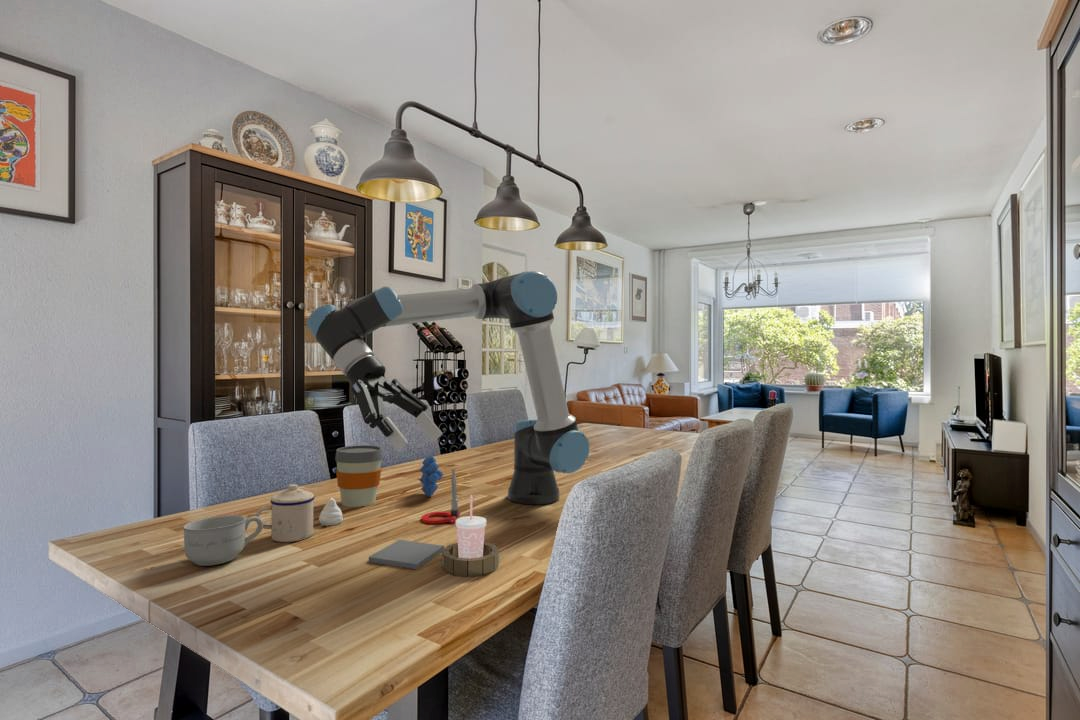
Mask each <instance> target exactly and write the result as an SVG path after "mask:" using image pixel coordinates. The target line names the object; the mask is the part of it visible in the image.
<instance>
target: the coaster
mask: <svg viewBox="0 0 1080 720" xmlns="http://www.w3.org/2000/svg"><path fill="white" fill-rule="evenodd" d="M444 548H445V545H442V544H441V545H440V544H433V543H425V542H418V541H412V540H405V539H397V540H395V542H393V543H391V544H388V545H386V546H385V547H383V548H382V549H380V550H378V551H377V552H374V553H372V554H371V555H369V556H368V563H372V562H374V563H373V564H380V565H386V566H391V567H398V566H399V568H404V567H406V568H405V569H411V568H412V569H413V570H418V569H419V568H421V567H423V566H424V565H425V564H427V563H428V562H430V561H432V559H434V558H436V557H437V556H438V555H440V554H442V550H443V549H444Z"/></svg>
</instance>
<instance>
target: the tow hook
mask: <svg viewBox="0 0 1080 720" xmlns="http://www.w3.org/2000/svg"><path fill="white" fill-rule="evenodd" d="M458 504H459V503H458V498H457V477H456V469H455V468H451V504H450V505H451V506H450V507H451V508H450V509H451V510H450V511H443V510H440V511H433V512H427V513H426V514H423V515H422V516H421V517H420V520H421V522H422V523H424V524H432V525H434V524H445V523H450V524H456V520H457V519H458V518H460V517H459V516H460V515H461V511H460V510H459V505H458ZM440 516H441V517H442V516H443V517H444V518H443V517H442V518H433V517H440Z"/></svg>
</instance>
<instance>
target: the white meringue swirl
mask: <svg viewBox="0 0 1080 720" xmlns="http://www.w3.org/2000/svg"><path fill="white" fill-rule="evenodd" d="M343 516H344V515H343V512H342V510H341V508H340V507H339V506H338V505H337V501H336V499H334V498H333V497H330V498H329V499H328V502H327V503H326V504H325V506H324V507H323V509H321V512H320V513H319V517H318V520H319V522H320V525H322V526H324V525H325V526H326V527H329V526H328V525H331V526H337V525H340V524H341V523H342V522H343V519H344V517H343ZM339 523H340V524H339ZM325 526H324V527H325Z"/></svg>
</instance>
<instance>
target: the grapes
mask: <svg viewBox="0 0 1080 720" xmlns="http://www.w3.org/2000/svg"><path fill="white" fill-rule="evenodd" d="M421 464H422V466H421V467H420V469H419V471H420V472H421V473H422V475H421V477H420V479H419V482H420V483H421V484H422V487H421V488H420V490H421V491H422V492H423V493H424V494H425V495H426V496H427V497H429V496H430V497H432V496H433V495H434V494H435V492H436V491H437V489H438V487H439V486H438V484H437V483H438V481H440V480H442V478H443V477H444V473H443V472H442V471H441V470H440V469H439V468H440V466H439V465H438V464H437V460H436V459H435V457H434V456H427V457H425V458H424V459H423V461H422V463H421Z"/></svg>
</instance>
